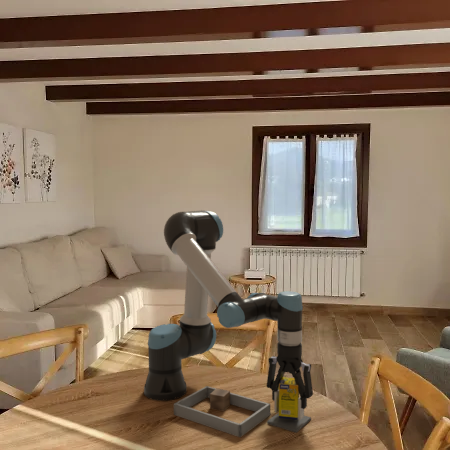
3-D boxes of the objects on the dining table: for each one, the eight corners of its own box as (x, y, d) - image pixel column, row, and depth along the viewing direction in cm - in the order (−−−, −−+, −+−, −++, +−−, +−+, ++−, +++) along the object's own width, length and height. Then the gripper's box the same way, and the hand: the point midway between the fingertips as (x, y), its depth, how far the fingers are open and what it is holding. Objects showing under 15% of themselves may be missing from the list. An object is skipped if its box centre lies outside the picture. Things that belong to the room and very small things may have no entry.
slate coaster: (267, 423, 153) (267, 421, 153) (282, 411, 161) (282, 409, 161) (296, 432, 147) (296, 430, 147) (310, 419, 155) (310, 417, 155)
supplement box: (298, 420, 150) (298, 385, 150) (278, 418, 152) (278, 383, 151) (299, 411, 156) (299, 378, 155) (280, 410, 157) (280, 376, 157)
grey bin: (173, 414, 159) (173, 403, 159) (206, 395, 174) (206, 385, 173) (240, 437, 145) (240, 425, 144) (270, 414, 159) (270, 403, 159)
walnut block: (210, 408, 164) (210, 393, 163) (216, 402, 168) (216, 388, 168) (223, 411, 162) (223, 396, 161) (230, 405, 166) (229, 390, 166)
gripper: (254, 339, 155) (254, 410, 157) (315, 351, 143) (314, 428, 145) (267, 333, 161) (266, 401, 163) (325, 345, 150) (324, 418, 151)
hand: (289, 414), depth 154 cm, fingers closed on supplement box, 7 cm apart
